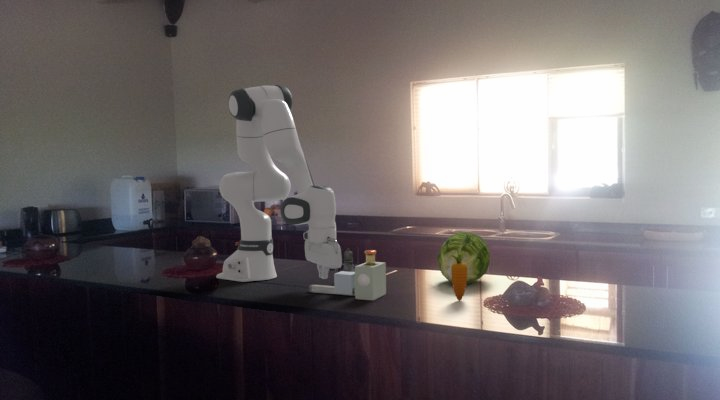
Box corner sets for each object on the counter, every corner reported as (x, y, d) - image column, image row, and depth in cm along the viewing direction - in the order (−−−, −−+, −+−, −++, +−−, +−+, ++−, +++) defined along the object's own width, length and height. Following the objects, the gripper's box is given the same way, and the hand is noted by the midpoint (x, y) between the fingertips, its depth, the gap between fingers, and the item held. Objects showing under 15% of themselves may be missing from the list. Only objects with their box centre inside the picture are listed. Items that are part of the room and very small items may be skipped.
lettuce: (425, 288, 197) (432, 240, 193) (442, 266, 218) (449, 222, 214) (477, 302, 191) (486, 252, 187) (490, 278, 213) (498, 232, 208)
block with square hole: (354, 299, 181) (354, 266, 181) (368, 292, 191) (368, 261, 190) (372, 300, 179) (372, 267, 178) (386, 293, 188) (385, 262, 188)
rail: (308, 291, 193) (308, 285, 193) (312, 290, 195) (312, 284, 195) (360, 296, 185) (360, 290, 185) (363, 294, 187) (363, 288, 187)
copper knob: (362, 269, 184) (362, 251, 183) (367, 267, 187) (367, 249, 187) (373, 270, 182) (373, 252, 182) (378, 268, 185) (378, 250, 185)
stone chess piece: (355, 283, 206) (354, 249, 205) (338, 283, 207) (338, 248, 206) (358, 280, 212) (358, 246, 211) (342, 279, 213) (342, 246, 212)
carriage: (334, 293, 187) (334, 273, 187) (341, 290, 192) (341, 271, 192) (351, 295, 185) (351, 274, 185) (358, 291, 189) (358, 272, 189)
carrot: (464, 303, 174) (463, 252, 173) (448, 301, 176) (448, 251, 176) (470, 300, 178) (470, 250, 177) (454, 298, 181) (454, 249, 180)
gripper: (346, 238, 184) (347, 282, 185) (318, 231, 202) (319, 272, 203) (328, 240, 181) (328, 285, 182) (301, 233, 199) (301, 274, 200)
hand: (323, 278), depth 192 cm, fingers closed
